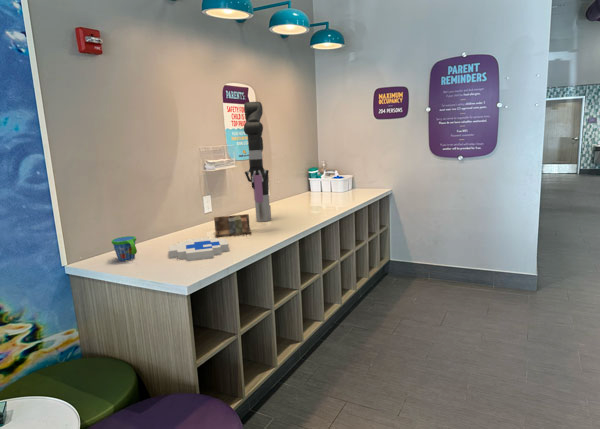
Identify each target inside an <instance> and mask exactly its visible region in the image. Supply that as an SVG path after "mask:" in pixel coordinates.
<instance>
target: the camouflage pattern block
mask: <svg viewBox="0 0 600 429" xmlns="http://www.w3.org/2000/svg"><path fill="white" fill-rule="evenodd" d="M213 219H214V230H215V231H214V233H215V238H218V239H219V238H227V237H228V238H229V237H235V236H247V235H252V229H251V227H250V216H249V213H246V214H234V215H233V214H232V215H224V216H222V215H221V216H214V217H213Z"/></svg>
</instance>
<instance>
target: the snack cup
mask: <svg viewBox="0 0 600 429" xmlns="http://www.w3.org/2000/svg"><path fill="white" fill-rule="evenodd" d="M136 241H137V238H136V236H132V235H128V236H120V237H116V238H114V239H111V244H112V245H113V250H114V251H115V254H116V255H115V256H116V257H117V260H118V261H119V260H120V261H121V262H126V261H125V260H128V261H131V259H132V260H134V259H135V258H136V254H137V253H138V250H137V247H136Z"/></svg>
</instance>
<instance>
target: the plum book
mask: <svg viewBox="0 0 600 429" xmlns="http://www.w3.org/2000/svg"><path fill="white" fill-rule="evenodd" d="M254 187H255V189H253V196H254V197H253V199H254V202H255V201H256V203H258V202H263V189H262V175H254Z"/></svg>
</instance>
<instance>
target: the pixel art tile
mask: <svg viewBox="0 0 600 429" xmlns="http://www.w3.org/2000/svg"><path fill="white" fill-rule="evenodd" d="M228 242H229V241H228V240H227V238H219V237H218V238H216V237H213V238H212V237H209V236H208V237H207V236H205V237H195V238H189V239H188V238H187V239H185V241H178V242H177V244H176V243H175V244H169V245H168V258H170V259H177V260H178V259H180V260H186V262H189V261H190V262H191V261H199V260H206V258H207V259H214V258H215V257H214V256H220V255H222V253H226V252H230V246H229V243H228ZM176 257H178V258H176Z"/></svg>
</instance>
